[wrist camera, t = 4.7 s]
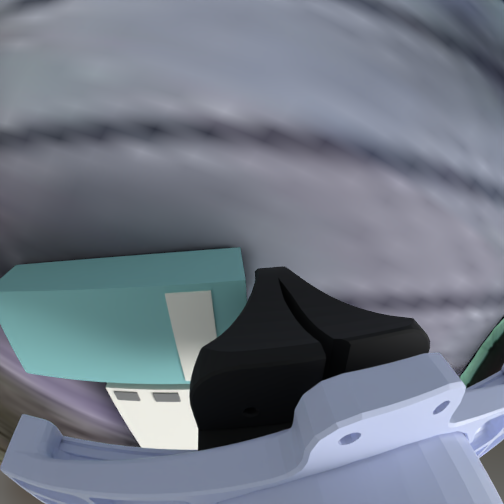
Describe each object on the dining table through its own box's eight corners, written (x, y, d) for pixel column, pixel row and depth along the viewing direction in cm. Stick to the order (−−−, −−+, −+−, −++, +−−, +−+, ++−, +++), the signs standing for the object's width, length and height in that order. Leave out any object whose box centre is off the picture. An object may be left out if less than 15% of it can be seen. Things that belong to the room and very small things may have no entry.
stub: (245, 338, 15) (251, 381, 12) (46, 340, 14) (26, 374, 11) (240, 247, 13) (245, 281, 10) (16, 265, 12) (-15, 292, 9)
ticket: (314, 438, 20) (324, 470, 17) (169, 449, 19) (166, 482, 16) (337, 329, 15) (359, 370, 12) (120, 345, 14) (105, 388, 11)
